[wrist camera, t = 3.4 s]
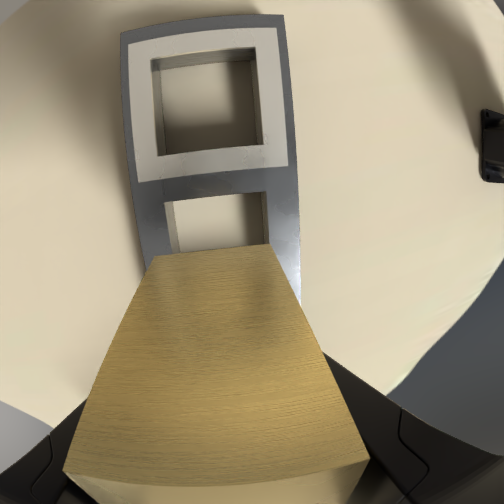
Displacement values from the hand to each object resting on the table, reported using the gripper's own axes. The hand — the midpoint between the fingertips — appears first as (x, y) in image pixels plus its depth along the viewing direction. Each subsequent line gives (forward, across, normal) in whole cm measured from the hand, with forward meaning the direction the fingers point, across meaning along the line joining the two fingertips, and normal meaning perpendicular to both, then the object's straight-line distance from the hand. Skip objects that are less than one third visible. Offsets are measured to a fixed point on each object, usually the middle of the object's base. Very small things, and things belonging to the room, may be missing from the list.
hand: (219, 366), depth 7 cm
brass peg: (+4, 0, 0) cm, 4 cm away
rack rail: (+12, 0, 0) cm, 12 cm away
